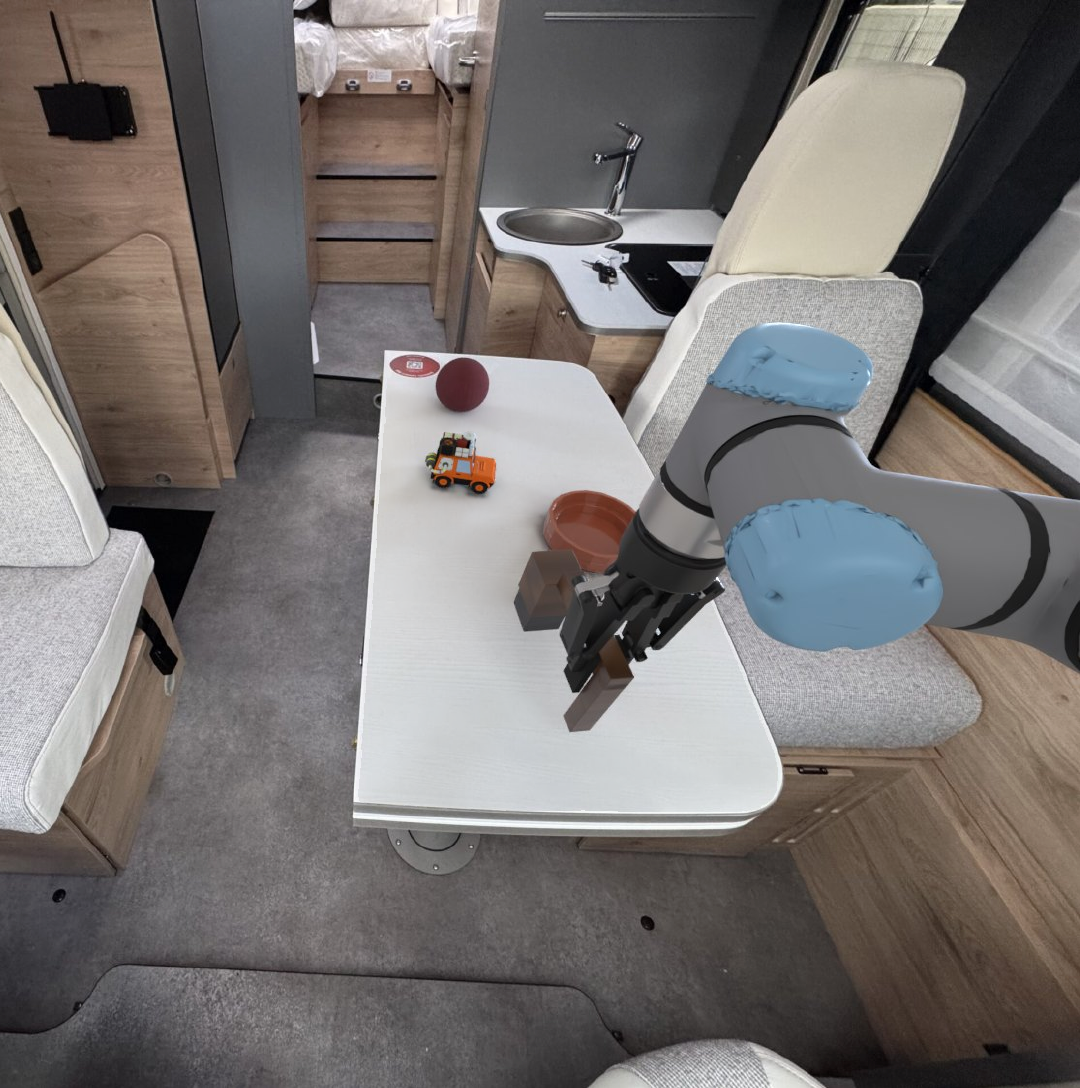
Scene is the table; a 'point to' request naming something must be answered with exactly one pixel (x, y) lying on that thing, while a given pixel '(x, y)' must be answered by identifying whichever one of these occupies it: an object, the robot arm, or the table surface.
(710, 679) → the table surface
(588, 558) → the bowl
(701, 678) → the table surface
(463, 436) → the toy car
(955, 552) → the robot arm
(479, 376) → the decorative ball
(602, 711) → the brown wooden mallet
